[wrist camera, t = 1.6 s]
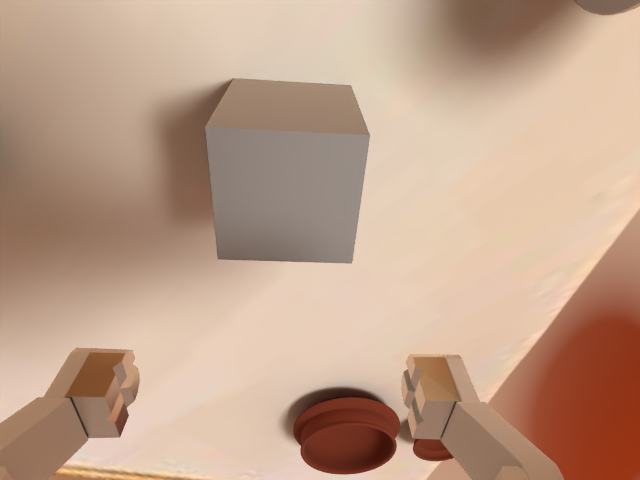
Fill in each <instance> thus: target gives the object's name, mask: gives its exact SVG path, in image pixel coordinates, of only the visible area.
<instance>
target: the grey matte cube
mask: <svg viewBox="0 0 640 480" xmlns="http://www.w3.org/2000/svg"><path fill="white" fill-rule="evenodd" d="M205 132H206V142H207V153H208V163H209V173H210V183H211V193H212V203H213V214H214V224H215V234H216V244H217V254H218V259H226V260H258V261H290V262H323V263H352V260H353V253H354V245H355V238H356V231H357V224H358V217H359V210H360V203H361V196H362V188H363V181H364V174H365V167H366V160H367V153H368V146H369V138H370V134H369V132H368V129H367V126H366V124H365V121H364V119H363V116H362V113H361V111H360V108H359V105H358V103H357V100H356V98H355V95H354V92H353V90H352V87H351V86H350V85H334V84H317V83H300V82H284V81H267V80H250V79H233V80H232V82H231V84H230V85H229V87H228V89H227V90H226V92H225V94H224V96H223V97H222V99H221V101H220V102H219V104H218V106H217V107H216V109H215V111H214V112H213V114H212V116H211V117H210V119H209V121H208V123H207V124H206V126H205Z"/></svg>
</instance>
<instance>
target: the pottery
mask: <svg viewBox="0 0 640 480" xmlns="http://www.w3.org/2000/svg"><path fill="white" fill-rule="evenodd" d="M399 428H400V421H399V418H398V416H397V414H396V413H395V412H394V411H393V410H392V409H391V408H390V407H388V406H387V405H385V404H383V403H380V402H378V401H375V400H371V399H366V398H357V397H346V398H337V399H332V400H327V401H324V402H321V403H318V404H316V405H314V406H312V407H310V408H309V409H307V410H306V411H304V412H303V413H302V414H301V415H300V416H299V417H298V419H297V420H296V422H295V424H294V430H293V431H294V436H295V439H296V440H297V442H298V443H299V444H300V445H301V456H302V458H303V460H304V461H305V462H306V463H307V464H308V465H309V466H311V467H313V468H314V469H317V470H319V471H322V472H326V473H331V474H356V473H362V472H366V471H370V470H373V469H375V468H378V467H380V466H382V465H383V464H385V463H386V462H388V461H389V460H390V459H391V458H392V457H393V455H394V453H395V451H396V446H397V445H396V440H395V437H396V436H397V434H398V432H399ZM413 451H414V454H415V455H416V456H417V457H419V458H421V459H423V460H428V461H444V460H448V459H452V458H454V457H453V456H452V454H451V453H450V452H449V451H448V449H447V448H446V447H445V446H444V445H443V443H442V442H441V439H415V442H414V446H413Z"/></svg>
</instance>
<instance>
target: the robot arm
mask: <svg viewBox="0 0 640 480" xmlns="http://www.w3.org/2000/svg"><path fill="white" fill-rule="evenodd" d="M134 359H135V356H134V353H133V350H121V349H98V348H76V349H75V350H73V351H72V352H71V353H70V355H69V356H68V358H67V360H66V361H65V363H64V365H63V366H62V368H61V369H60V371H59V373H58V374H57V376H56V378H55V379H54V381H53V382H52V384H51V386H50V387H49V389H48V391H47V392H46V394H45V395H44V397H39V398H36V399H35V400H33V401H32V402H30V403H29V404H28V405H26V406H25V407H23V408H22V409H20V410H19V411H17V412H16V413H15V414H13V415H12V416H10V417H9V418H7V419H6V420H4V421H3V422H2V423H0V480H48V479H49V478H50V477H51V476H52V475H53V474H54V473H55V472H56V471H57V470H58V469H59V468H60V467H61V466H62V465H63V464H64V463H65V462H66V461H67V460H68V459H70V458H71V457H72V456H73V455H74V454H75V453H76V452H77V451H78V450H79V449H80V448H81V447H82V446H83V445H84V444H85V443H86V442H87V441H88V438H113V437H120V436H121V433H122V431H123V428H124V426H125V423H126V421H127V418H128V416H129V415H128V411H127V407H128V406H129V405H130V404H131V403H133V402H134V401H135V398H136V395H137V393H138V388H139V382H140V377H139V371H138V368H137V367H136V366H134V365H133V362H134ZM406 364H407V368H408V369H407V370H406V371H404V372H403V377H402V396H403V401H404V404H405V405H406V406H407V407H408V408H409V409H410V410H409V413H408V417H407V418H408V422H409V427H410V431H411V435H412V439H441V442H442V443H443V445H444V446H445V447H446V448H447V449H448V451H449V452H450V453H451V454H452V456H453V457H454V458H455V459H456V460H457V462H458V463H459V464H460V465H461V467H462V468H463V469H464V470H465V471H466V473H467V474H468V475H469V477H470V478H471V479H472V480H564V478H563V476H562V475H561V473H560V471H559V468H558V467H557V465H556V464H555V463H554V462H553V461H551V460H550V459H549V458H548V457H547V456H546V455H545V454H544V453H542V452H541V451H540V450H539V449H538V448H537V447H536V446H534V445H533V444H532V443H531V442H530V441H529V440H528V439H526V438H525V437H524V436H523V435H522V434H521V433H519V432H518V431H517V430H516V429H515V428H514V427H513V426H511V425H510V424H509V423H508V422H507V421H506V420H505V419H504V418H502V417H501V416H500V415H499V414H498V413H497V412H496V411H494V410H493V409H492V408H491V407H490V406H489V405H488V404H486V403H485V402H480V401H479V398H478V396H477V393H476V391H475V389H474V386H473V384H472V382H471V379H470V377H469V374H468V372H467V370H466V367H465V365H464V362H463V360H462V358H461V357H460V356H459V355H441V354H410V355H409V356H408V358H407V362H406Z"/></svg>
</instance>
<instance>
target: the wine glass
mask: <svg viewBox="0 0 640 480" xmlns="http://www.w3.org/2000/svg"><path fill="white" fill-rule="evenodd" d="M575 1H576V2H577V3H578V4H579V5H580V6H581V7H582V8H584V9H585V10H587V11H589V12H591V13H595V14H600V15H615V14H620V13H624V12H627V11H630V10H632V9H635V8H637V7H639V6H640V0H575Z"/></svg>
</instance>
